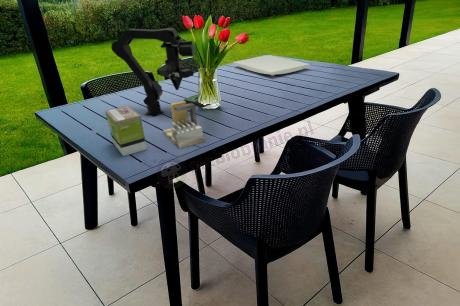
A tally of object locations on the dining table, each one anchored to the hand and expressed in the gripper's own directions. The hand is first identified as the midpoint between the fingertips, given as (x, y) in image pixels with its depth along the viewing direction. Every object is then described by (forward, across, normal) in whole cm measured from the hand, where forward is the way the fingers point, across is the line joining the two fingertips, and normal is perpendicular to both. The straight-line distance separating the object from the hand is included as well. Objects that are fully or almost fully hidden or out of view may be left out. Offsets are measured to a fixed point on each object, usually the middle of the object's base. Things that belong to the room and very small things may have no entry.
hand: (177, 89), depth 171 cm
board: (+13, -4, +97) cm, 98 cm away
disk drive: (+13, -2, +17) cm, 22 cm away
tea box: (+12, +8, -39) cm, 42 cm away
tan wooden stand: (+12, +22, -22) cm, 33 cm away
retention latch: (+10, +22, -22) cm, 32 cm away
